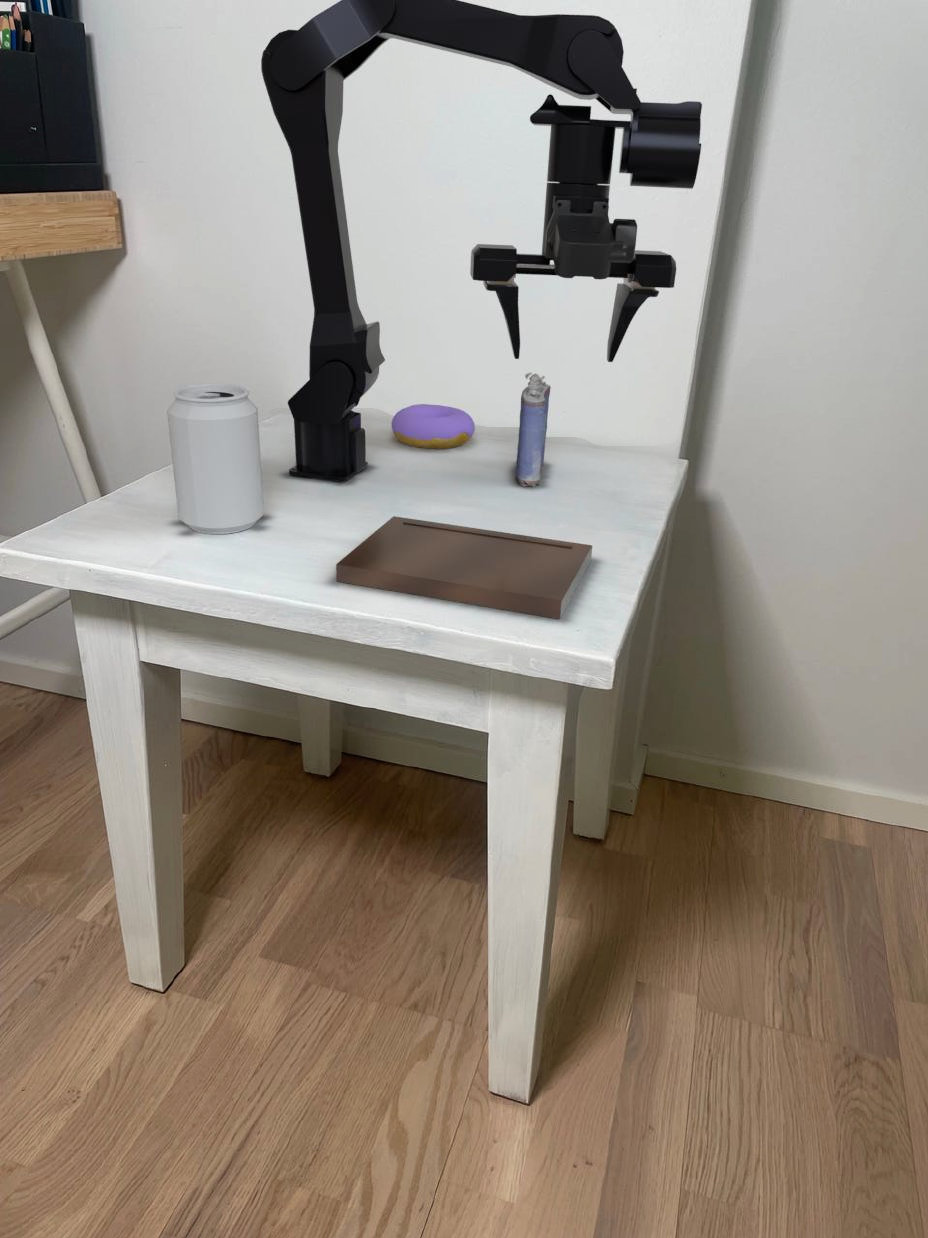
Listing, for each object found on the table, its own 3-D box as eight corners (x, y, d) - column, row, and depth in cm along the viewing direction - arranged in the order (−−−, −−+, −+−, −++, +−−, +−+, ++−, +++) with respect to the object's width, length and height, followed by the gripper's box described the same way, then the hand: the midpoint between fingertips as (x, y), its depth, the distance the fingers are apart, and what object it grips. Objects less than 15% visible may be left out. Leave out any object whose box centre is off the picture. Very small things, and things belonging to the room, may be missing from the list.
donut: (380, 444, 107) (382, 401, 105) (401, 441, 115) (404, 401, 114) (464, 452, 105) (467, 409, 104) (479, 448, 114) (483, 408, 112)
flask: (539, 488, 95) (547, 383, 91) (511, 485, 96) (517, 381, 91) (545, 463, 104) (552, 366, 99) (519, 461, 104) (525, 364, 99)
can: (279, 515, 85) (272, 385, 80) (236, 542, 79) (225, 402, 74) (209, 504, 87) (198, 376, 82) (161, 530, 81) (146, 392, 76)
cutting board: (336, 581, 72) (335, 562, 72) (393, 531, 83) (393, 514, 82) (559, 619, 68) (561, 599, 67) (591, 561, 78) (592, 543, 77)
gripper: (480, 180, 76) (472, 373, 82) (704, 190, 77) (677, 380, 84) (473, 178, 86) (466, 351, 92) (671, 187, 87) (650, 357, 94)
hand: (563, 359), depth 90 cm, fingers open, 9 cm apart
